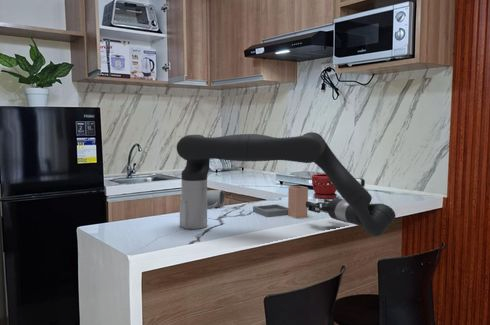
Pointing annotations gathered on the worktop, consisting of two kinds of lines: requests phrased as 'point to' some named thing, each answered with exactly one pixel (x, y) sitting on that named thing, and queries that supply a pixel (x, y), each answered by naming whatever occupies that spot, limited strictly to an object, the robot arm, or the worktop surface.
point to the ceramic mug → (215, 198)
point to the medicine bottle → (361, 182)
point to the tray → (271, 210)
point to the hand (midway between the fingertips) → (315, 203)
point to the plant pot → (323, 187)
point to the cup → (297, 201)
